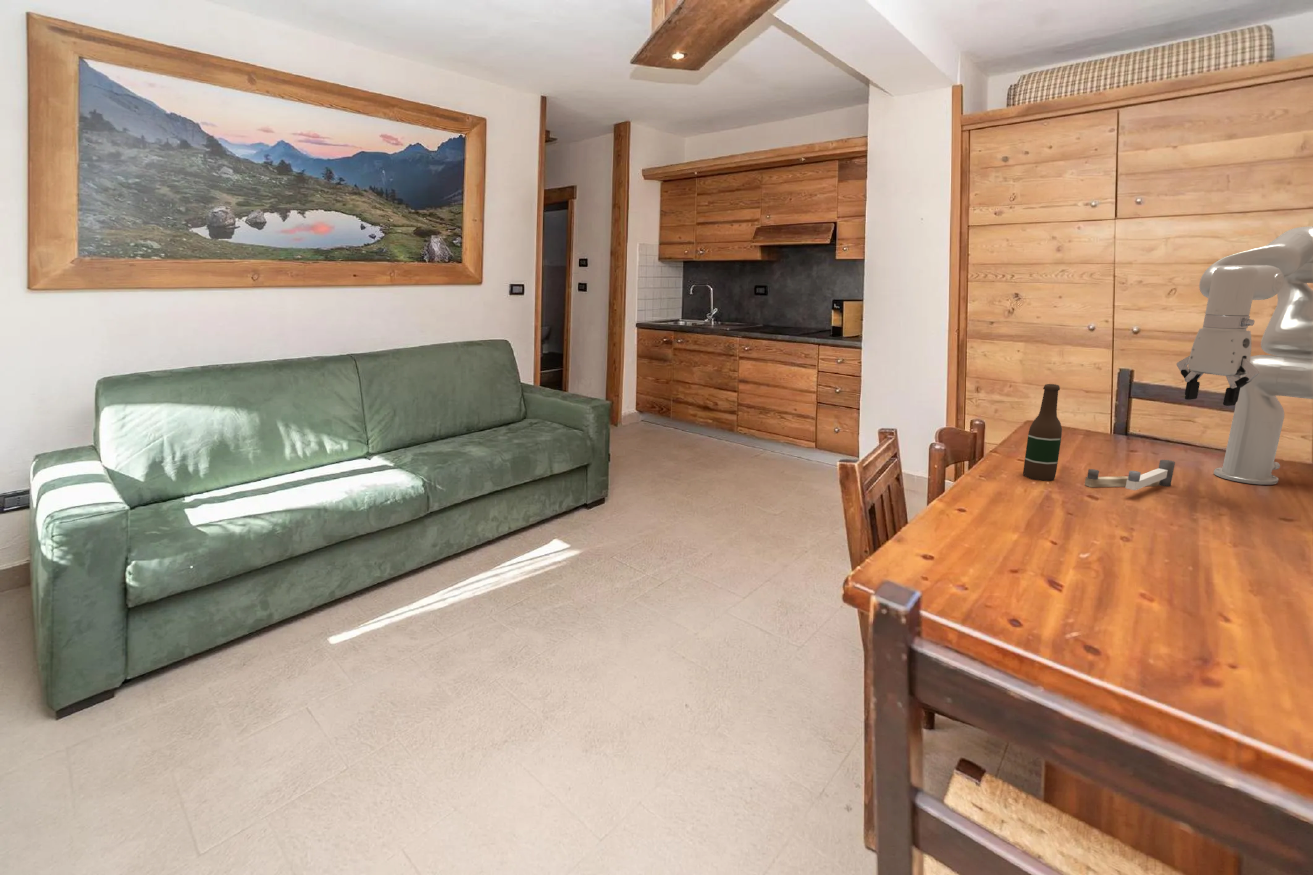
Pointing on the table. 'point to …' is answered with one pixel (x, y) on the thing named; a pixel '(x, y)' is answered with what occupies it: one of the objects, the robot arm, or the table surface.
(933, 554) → the table surface
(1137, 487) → the tongs moving jaw
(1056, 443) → the beer bottle
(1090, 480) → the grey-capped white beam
